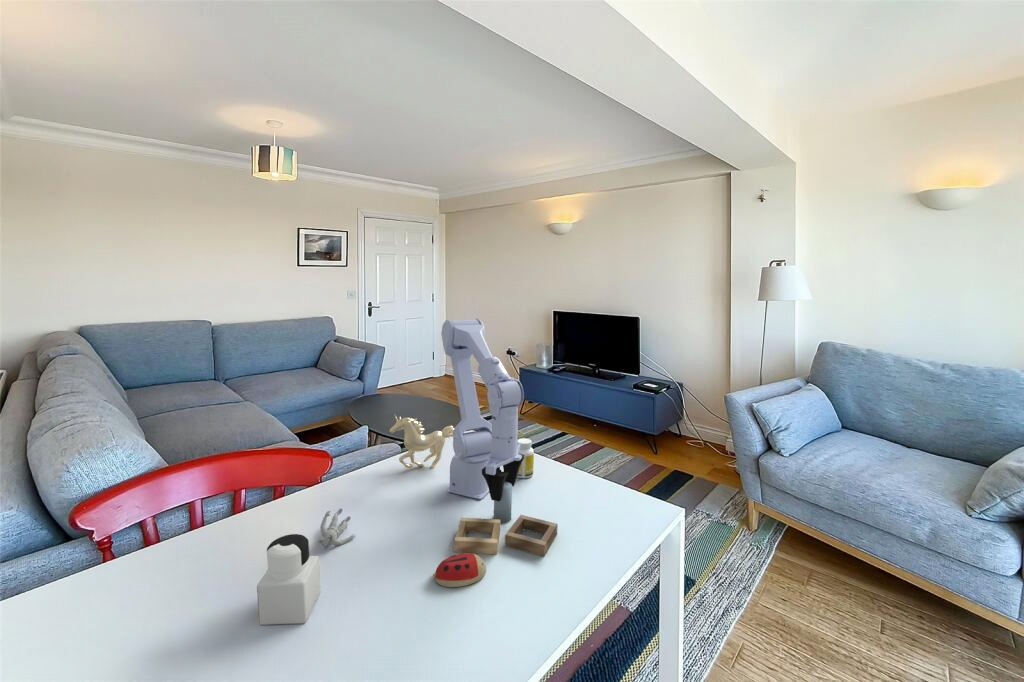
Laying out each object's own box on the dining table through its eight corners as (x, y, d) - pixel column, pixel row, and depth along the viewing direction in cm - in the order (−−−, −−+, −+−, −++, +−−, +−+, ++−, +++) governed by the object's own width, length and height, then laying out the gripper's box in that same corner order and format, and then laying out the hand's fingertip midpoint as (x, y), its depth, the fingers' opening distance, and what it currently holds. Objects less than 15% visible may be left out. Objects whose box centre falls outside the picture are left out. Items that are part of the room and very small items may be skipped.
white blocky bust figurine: (278, 594, 78) (274, 529, 76) (321, 592, 79) (318, 528, 77) (258, 626, 71) (254, 555, 69) (306, 624, 72) (302, 554, 70)
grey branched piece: (361, 526, 101) (355, 540, 89) (344, 544, 99) (335, 561, 88) (335, 502, 100) (326, 513, 89) (318, 519, 99) (306, 533, 88)
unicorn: (455, 458, 136) (455, 402, 133) (460, 463, 132) (461, 406, 130) (388, 471, 126) (387, 411, 123) (392, 477, 122) (391, 415, 120)
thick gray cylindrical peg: (490, 520, 102) (491, 487, 101) (498, 512, 106) (498, 480, 105) (506, 524, 101) (507, 491, 100) (513, 516, 105) (514, 483, 103)
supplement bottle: (533, 471, 128) (534, 437, 127) (532, 479, 123) (533, 445, 122) (514, 469, 129) (515, 436, 127) (512, 478, 124) (513, 443, 122)
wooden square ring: (504, 545, 93) (505, 534, 93) (520, 525, 101) (520, 514, 101) (544, 556, 90) (544, 545, 90) (557, 534, 98) (557, 523, 97)
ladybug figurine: (491, 581, 83) (491, 563, 82) (438, 596, 79) (438, 577, 78) (478, 560, 89) (479, 543, 88) (429, 572, 85) (428, 555, 84)
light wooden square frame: (454, 551, 91) (454, 540, 90) (461, 528, 99) (461, 517, 99) (496, 554, 90) (497, 542, 90) (500, 530, 99) (500, 519, 98)
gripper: (508, 449, 92) (506, 511, 94) (533, 427, 105) (531, 482, 107) (477, 443, 95) (476, 503, 97) (505, 422, 108) (504, 476, 110)
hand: (503, 492), depth 102 cm, fingers open, 7 cm apart
